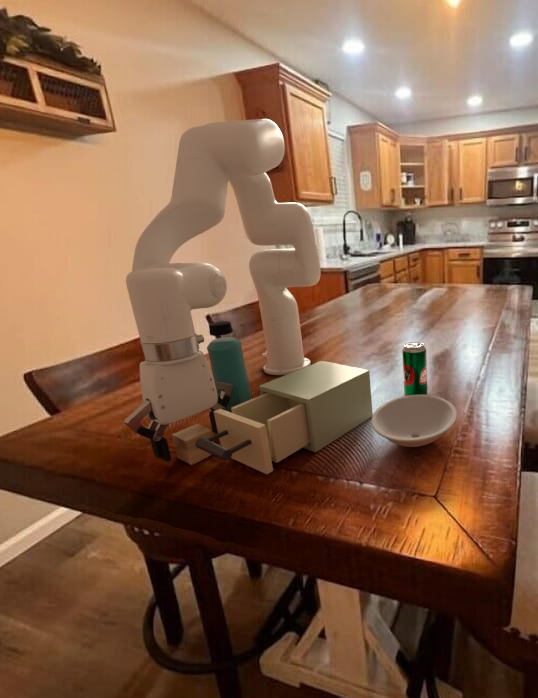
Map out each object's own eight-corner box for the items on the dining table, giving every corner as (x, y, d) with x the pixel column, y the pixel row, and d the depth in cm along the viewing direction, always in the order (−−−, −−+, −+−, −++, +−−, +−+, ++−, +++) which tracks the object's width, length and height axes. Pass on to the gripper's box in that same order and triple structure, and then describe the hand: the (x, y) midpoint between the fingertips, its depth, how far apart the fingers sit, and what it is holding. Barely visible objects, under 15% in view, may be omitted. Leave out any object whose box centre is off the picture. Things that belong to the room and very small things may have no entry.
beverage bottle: (261, 411, 85) (245, 318, 79) (240, 425, 79) (221, 326, 73) (236, 408, 88) (218, 317, 81) (214, 422, 82) (193, 325, 75)
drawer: (238, 492, 58) (228, 443, 55) (193, 468, 64) (183, 423, 61) (333, 433, 73) (328, 393, 70) (289, 419, 79) (284, 381, 77)
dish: (447, 474, 61) (446, 445, 59) (358, 462, 65) (356, 435, 63) (463, 421, 77) (463, 397, 75) (391, 414, 81) (390, 391, 79)
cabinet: (315, 452, 69) (308, 399, 66) (267, 434, 76) (258, 385, 73) (372, 416, 81) (369, 370, 78) (326, 403, 88) (321, 360, 85)
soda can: (425, 402, 86) (424, 348, 82) (402, 401, 87) (399, 348, 83) (429, 392, 91) (427, 341, 87) (406, 392, 92) (404, 341, 88)
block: (177, 457, 69) (171, 434, 68) (202, 446, 73) (196, 423, 71) (191, 465, 67) (185, 441, 65) (216, 452, 70) (211, 429, 69)
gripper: (209, 334, 72) (226, 420, 77) (98, 361, 59) (128, 463, 64) (234, 338, 68) (250, 430, 73) (121, 368, 55) (151, 477, 60)
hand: (193, 445), depth 69 cm, fingers open, 9 cm apart
